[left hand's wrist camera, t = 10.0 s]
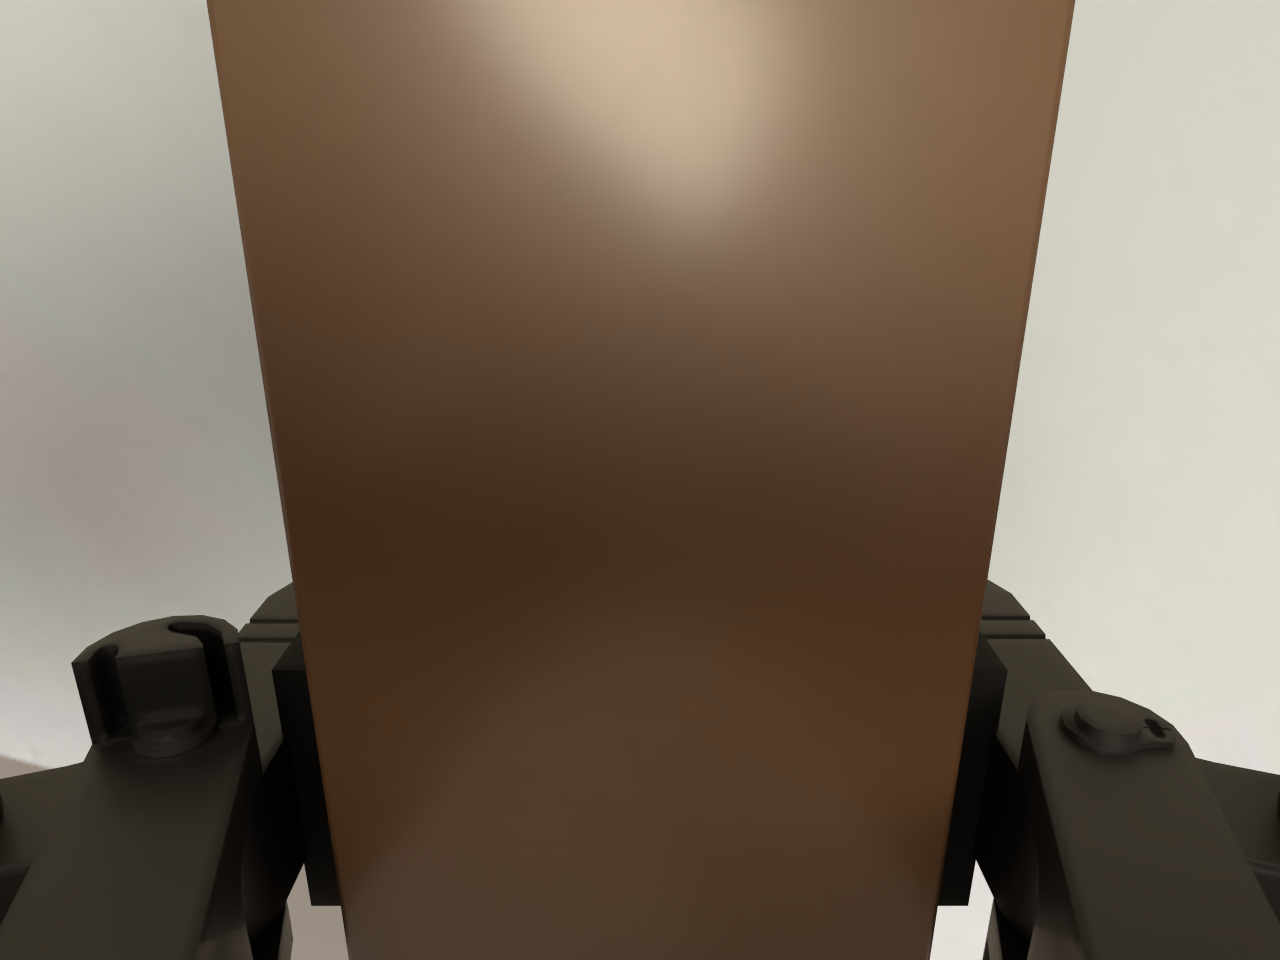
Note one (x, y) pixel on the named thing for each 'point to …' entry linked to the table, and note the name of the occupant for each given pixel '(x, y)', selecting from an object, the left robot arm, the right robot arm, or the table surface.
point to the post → (640, 448)
